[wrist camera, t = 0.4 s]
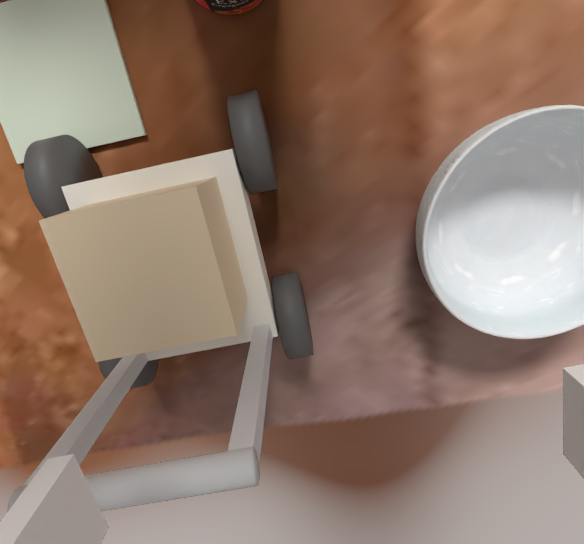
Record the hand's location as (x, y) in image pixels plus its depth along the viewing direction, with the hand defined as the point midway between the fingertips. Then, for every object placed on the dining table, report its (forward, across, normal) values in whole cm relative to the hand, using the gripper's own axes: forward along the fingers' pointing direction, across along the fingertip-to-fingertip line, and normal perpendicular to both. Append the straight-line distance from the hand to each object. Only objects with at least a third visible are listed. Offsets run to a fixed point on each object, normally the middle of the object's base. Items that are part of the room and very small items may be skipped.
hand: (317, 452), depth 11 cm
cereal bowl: (+26, +17, -2) cm, 32 cm away
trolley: (+26, -9, +1) cm, 28 cm away
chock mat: (+26, -16, +16) cm, 35 cm away
